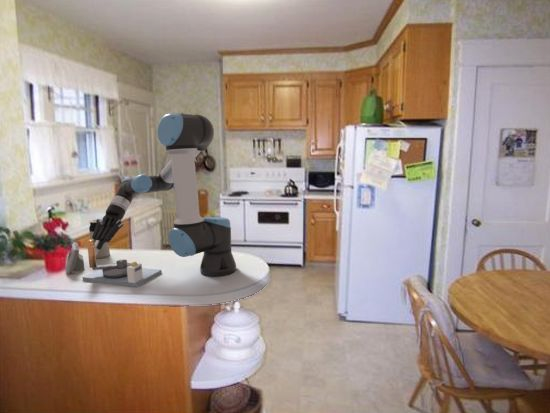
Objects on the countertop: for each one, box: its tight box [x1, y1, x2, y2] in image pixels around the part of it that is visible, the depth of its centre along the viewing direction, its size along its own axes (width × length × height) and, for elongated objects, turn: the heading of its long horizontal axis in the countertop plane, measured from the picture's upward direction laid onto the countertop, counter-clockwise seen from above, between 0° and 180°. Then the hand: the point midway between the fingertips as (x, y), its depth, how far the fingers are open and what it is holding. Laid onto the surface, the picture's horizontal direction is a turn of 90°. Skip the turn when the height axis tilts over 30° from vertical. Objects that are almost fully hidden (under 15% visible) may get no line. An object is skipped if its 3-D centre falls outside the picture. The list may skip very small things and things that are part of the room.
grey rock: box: [65, 241, 85, 275], centre depth 167 cm, size 16×9×11 cm, turn 17°
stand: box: [82, 261, 163, 288], centre depth 155 cm, size 26×16×9 cm, turn 72°
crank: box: [86, 239, 132, 278], centre depth 154 cm, size 17×12×14 cm
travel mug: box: [88, 218, 111, 259], centre depth 185 cm, size 8×8×18 cm
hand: (92, 255), depth 155 cm, fingers closed
